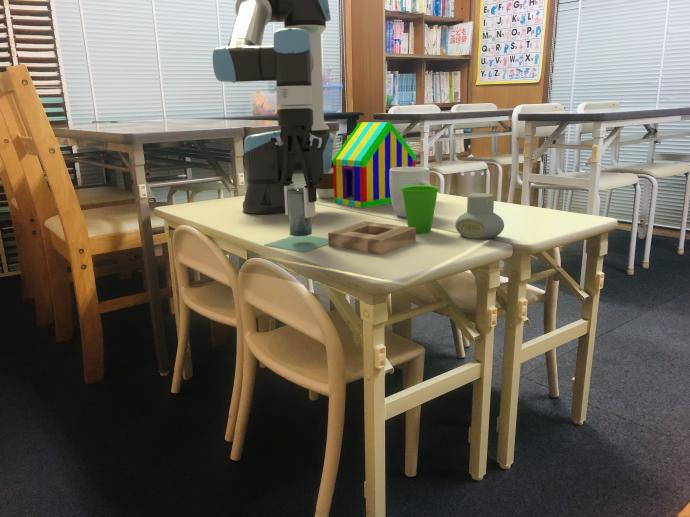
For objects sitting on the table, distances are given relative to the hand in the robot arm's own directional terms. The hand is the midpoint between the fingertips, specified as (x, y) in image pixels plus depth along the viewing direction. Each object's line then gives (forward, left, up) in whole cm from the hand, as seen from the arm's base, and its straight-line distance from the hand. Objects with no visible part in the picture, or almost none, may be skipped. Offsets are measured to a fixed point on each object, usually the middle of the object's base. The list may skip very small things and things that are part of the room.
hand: (300, 215), depth 122 cm
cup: (+17, +24, -7) cm, 30 cm away
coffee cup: (-37, +56, -7) cm, 67 cm away
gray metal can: (0, 0, -4) cm, 4 cm away
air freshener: (+31, +27, -7) cm, 42 cm away
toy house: (-18, +58, -7) cm, 61 cm away
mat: (0, 0, -7) cm, 7 cm away
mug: (+5, +41, -7) cm, 42 cm away
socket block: (+14, +8, -7) cm, 18 cm away
